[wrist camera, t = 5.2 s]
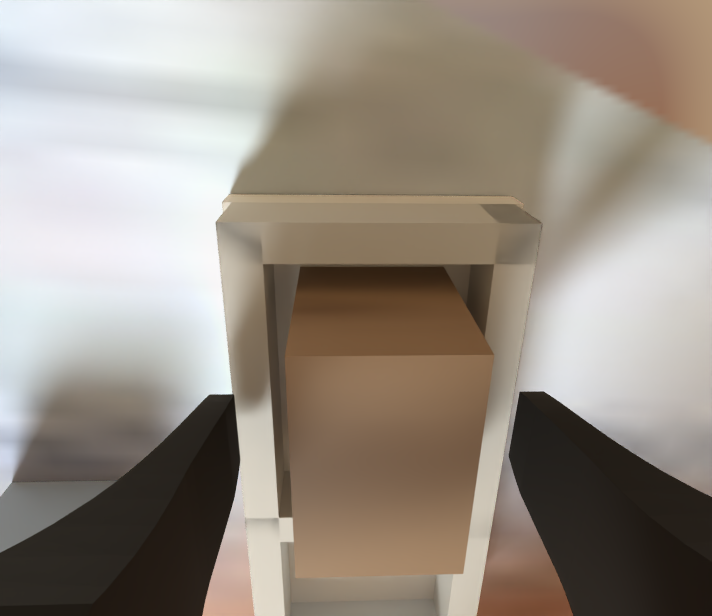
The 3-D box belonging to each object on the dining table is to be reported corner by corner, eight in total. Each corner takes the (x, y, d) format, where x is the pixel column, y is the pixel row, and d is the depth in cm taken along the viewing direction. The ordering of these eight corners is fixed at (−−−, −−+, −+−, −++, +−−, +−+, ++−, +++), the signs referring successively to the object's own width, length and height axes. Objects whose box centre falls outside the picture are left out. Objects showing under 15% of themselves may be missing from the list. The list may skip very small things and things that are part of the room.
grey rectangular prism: (144, 559, 20) (81, 720, 15) (39, 561, 20) (-60, 724, 15) (127, 479, 18) (49, 630, 13) (12, 481, 18) (-109, 634, 13)
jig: (456, 592, 21) (474, 667, 19) (263, 597, 21) (253, 674, 18) (512, 196, 15) (553, 223, 12) (228, 193, 14) (204, 222, 12)
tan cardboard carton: (428, 439, 17) (463, 573, 12) (306, 441, 17) (295, 578, 12) (443, 266, 14) (494, 354, 10) (300, 266, 14) (284, 356, 10)
